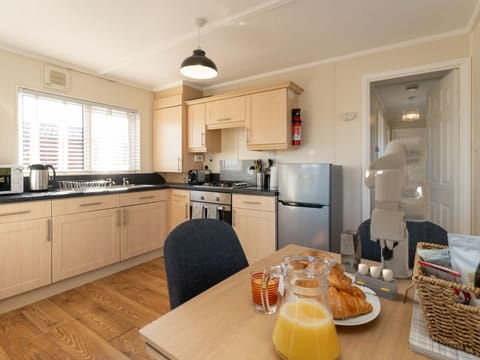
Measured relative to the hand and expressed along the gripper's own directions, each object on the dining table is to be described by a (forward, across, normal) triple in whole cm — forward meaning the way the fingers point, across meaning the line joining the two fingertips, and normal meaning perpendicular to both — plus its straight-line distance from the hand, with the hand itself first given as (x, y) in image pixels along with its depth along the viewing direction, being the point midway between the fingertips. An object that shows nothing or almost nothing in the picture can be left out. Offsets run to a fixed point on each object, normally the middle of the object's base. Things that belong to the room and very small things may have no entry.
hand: (387, 259), depth 88 cm
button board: (+12, +4, -1) cm, 13 cm away
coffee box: (+12, +18, -16) cm, 27 cm away
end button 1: (+8, 0, -1) cm, 8 cm away
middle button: (+8, +4, -1) cm, 9 cm away
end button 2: (+8, +8, -1) cm, 11 cm away
